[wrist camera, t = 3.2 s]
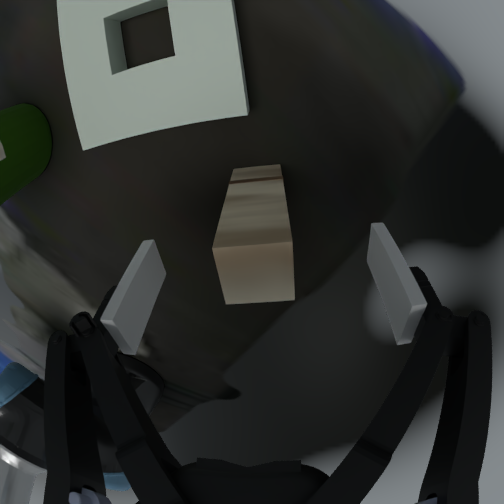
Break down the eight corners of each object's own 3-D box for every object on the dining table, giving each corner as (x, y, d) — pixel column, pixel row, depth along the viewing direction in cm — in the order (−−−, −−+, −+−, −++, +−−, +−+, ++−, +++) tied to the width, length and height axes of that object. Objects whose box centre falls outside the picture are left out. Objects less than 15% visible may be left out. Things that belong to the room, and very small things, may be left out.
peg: (284, 206, 26) (295, 300, 16) (239, 210, 27) (225, 305, 17) (280, 163, 24) (293, 240, 14) (233, 168, 24) (211, 247, 15)
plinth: (249, 110, 21) (247, 115, 19) (99, 141, 23) (83, 150, 20) (225, -56, 12) (220, -70, 10) (74, -5, 13) (56, -9, 11)
